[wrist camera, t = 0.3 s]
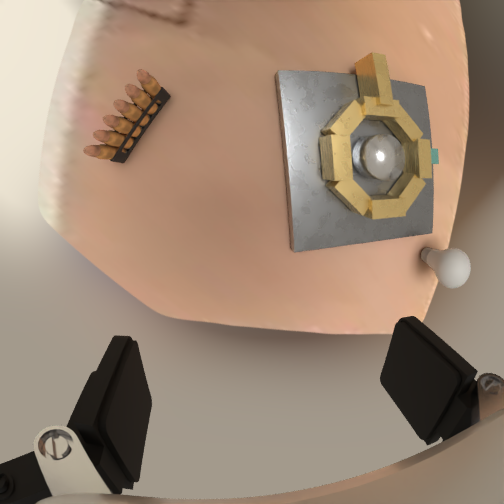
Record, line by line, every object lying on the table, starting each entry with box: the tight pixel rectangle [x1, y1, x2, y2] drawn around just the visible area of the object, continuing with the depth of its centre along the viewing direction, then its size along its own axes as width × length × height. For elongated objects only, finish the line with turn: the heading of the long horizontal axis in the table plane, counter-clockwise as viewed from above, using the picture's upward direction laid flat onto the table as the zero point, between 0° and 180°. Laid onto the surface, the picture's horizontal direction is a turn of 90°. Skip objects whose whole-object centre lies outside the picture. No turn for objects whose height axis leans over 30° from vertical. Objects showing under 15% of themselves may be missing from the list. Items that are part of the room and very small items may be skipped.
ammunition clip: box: [83, 69, 171, 163], centre depth 27 cm, size 11×2×12 cm, turn 144°
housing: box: [275, 71, 439, 252], centre depth 35 cm, size 24×25×6 cm
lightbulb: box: [421, 247, 471, 288], centre depth 38 cm, size 6×6×11 cm
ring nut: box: [319, 53, 432, 219], centre depth 32 cm, size 21×15×5 cm
